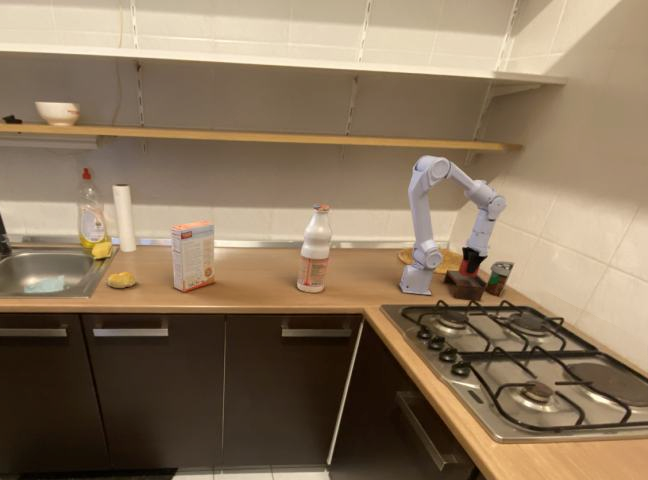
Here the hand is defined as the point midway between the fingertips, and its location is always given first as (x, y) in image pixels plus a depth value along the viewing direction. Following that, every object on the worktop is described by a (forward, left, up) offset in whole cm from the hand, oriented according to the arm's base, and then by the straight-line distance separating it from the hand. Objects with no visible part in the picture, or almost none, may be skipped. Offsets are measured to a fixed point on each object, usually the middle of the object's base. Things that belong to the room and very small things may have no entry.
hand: (467, 270), depth 135 cm
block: (0, 0, -1) cm, 1 cm away
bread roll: (-118, -28, -8) cm, 122 cm away
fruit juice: (-54, -13, -8) cm, 56 cm away
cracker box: (-94, -22, -8) cm, 97 cm away
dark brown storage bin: (0, 0, -8) cm, 8 cm away
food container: (+12, +4, -8) cm, 15 cm away
